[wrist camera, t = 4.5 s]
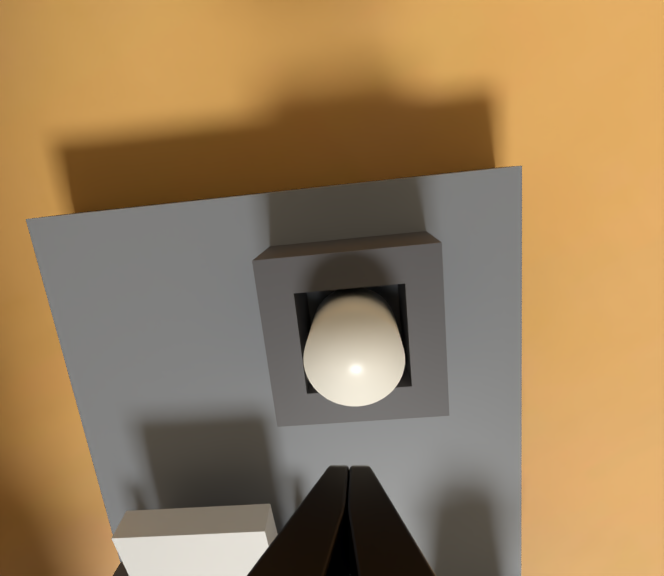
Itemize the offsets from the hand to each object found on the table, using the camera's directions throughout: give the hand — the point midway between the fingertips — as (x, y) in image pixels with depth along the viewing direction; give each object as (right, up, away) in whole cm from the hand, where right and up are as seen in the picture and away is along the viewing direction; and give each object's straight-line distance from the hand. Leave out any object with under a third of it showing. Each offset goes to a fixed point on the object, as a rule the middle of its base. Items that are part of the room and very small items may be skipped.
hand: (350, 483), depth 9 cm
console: (-2, -3, +13) cm, 14 cm away
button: (0, +3, +7) cm, 7 cm away
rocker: (-5, -9, +10) cm, 14 cm away
